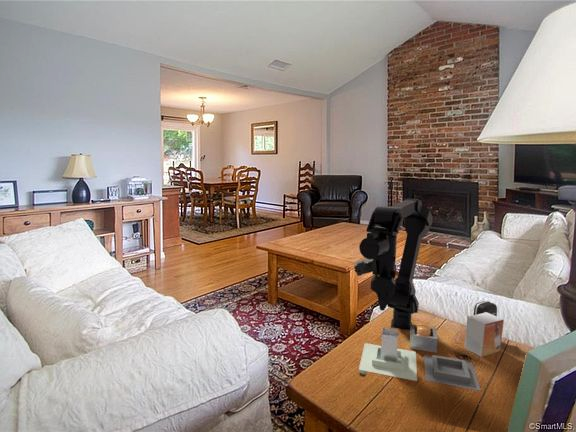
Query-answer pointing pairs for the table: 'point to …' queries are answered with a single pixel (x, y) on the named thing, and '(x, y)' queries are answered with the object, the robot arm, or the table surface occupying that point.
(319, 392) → the table surface
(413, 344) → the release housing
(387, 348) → the steel peg
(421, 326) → the tan egg
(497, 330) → the small box
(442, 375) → the charcoal socket
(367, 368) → the pale green socket
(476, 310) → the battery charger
